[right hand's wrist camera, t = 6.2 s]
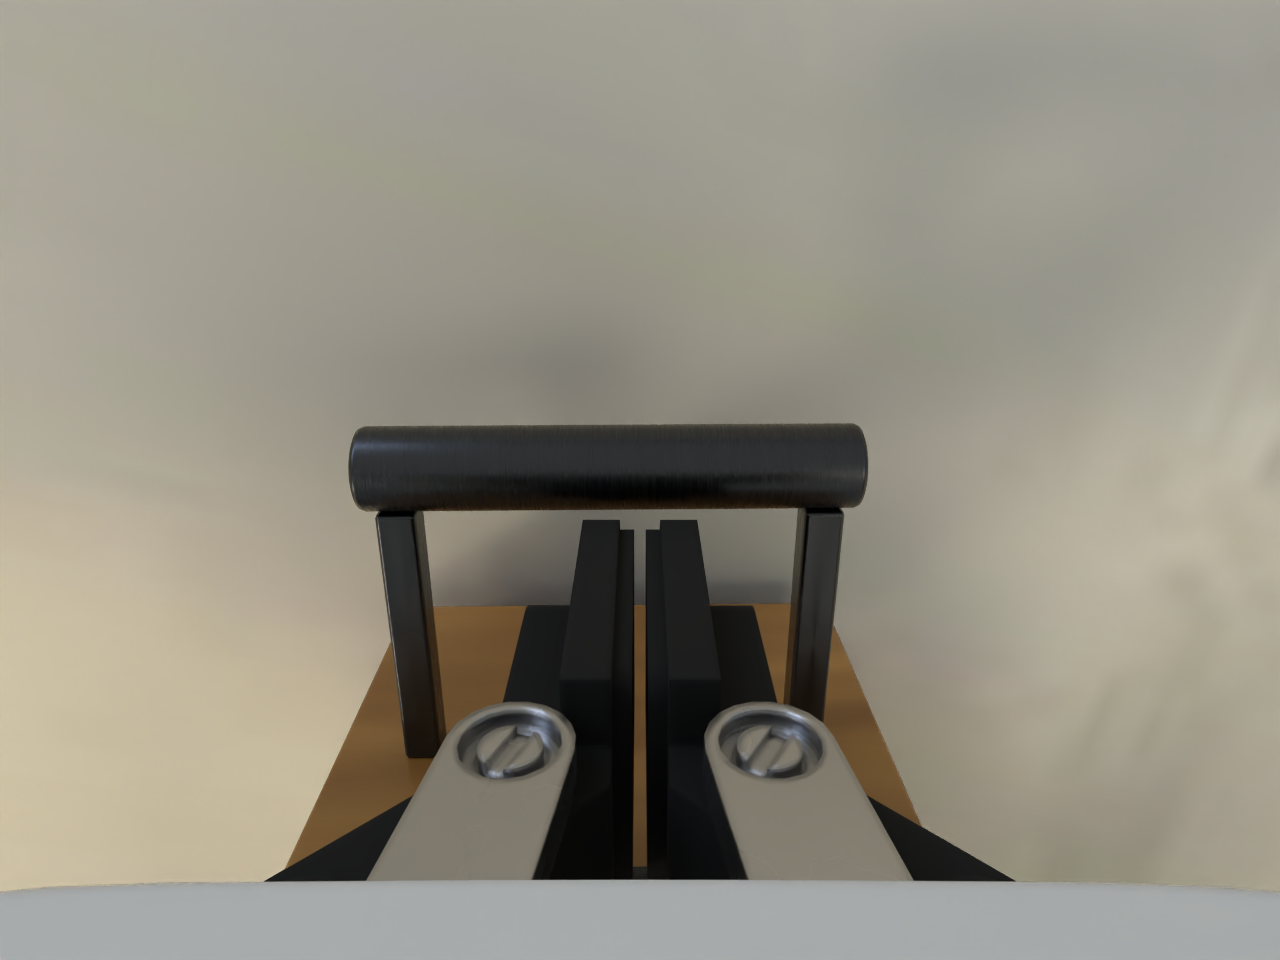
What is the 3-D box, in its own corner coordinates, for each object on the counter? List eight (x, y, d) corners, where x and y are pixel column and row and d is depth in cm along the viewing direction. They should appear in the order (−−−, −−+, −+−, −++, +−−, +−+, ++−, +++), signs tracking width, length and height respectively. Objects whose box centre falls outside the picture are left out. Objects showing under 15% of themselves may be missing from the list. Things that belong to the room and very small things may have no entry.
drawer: (376, 352, 17) (80, 603, 8) (848, 351, 17) (1111, 594, 8) (452, 990, 23) (344, 1528, 14) (789, 985, 23) (893, 1513, 14)
